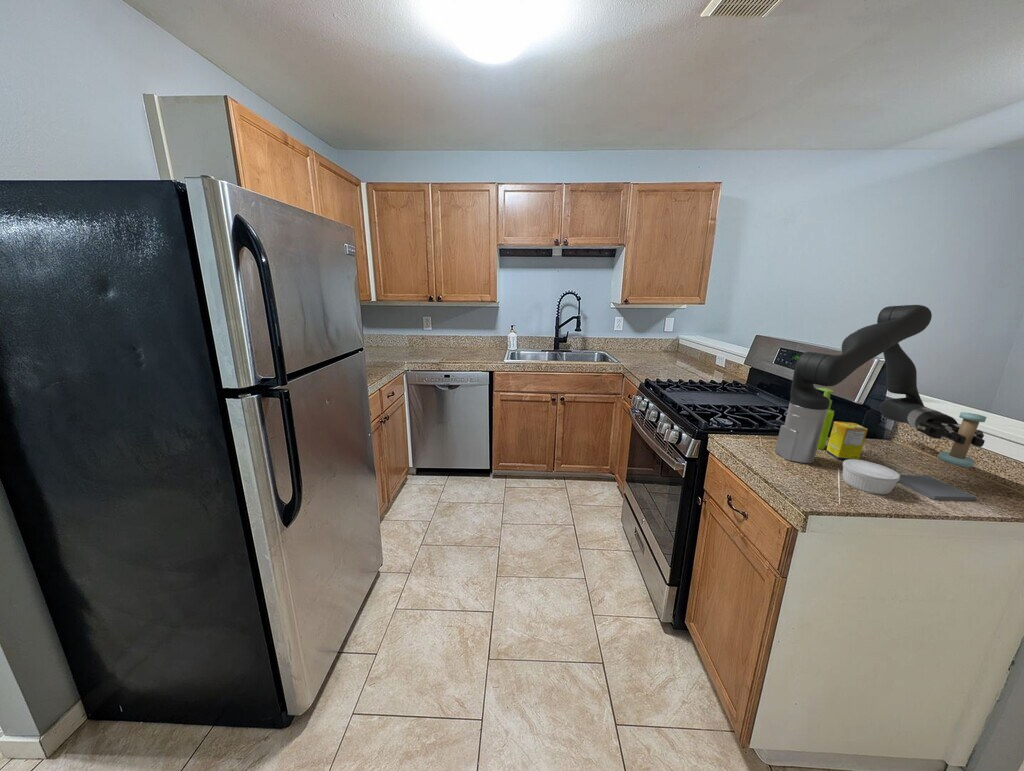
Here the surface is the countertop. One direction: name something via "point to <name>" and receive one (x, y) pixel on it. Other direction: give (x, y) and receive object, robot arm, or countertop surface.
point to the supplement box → (846, 440)
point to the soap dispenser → (826, 420)
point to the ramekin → (869, 476)
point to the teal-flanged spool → (960, 450)
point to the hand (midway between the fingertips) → (972, 442)
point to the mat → (934, 488)
